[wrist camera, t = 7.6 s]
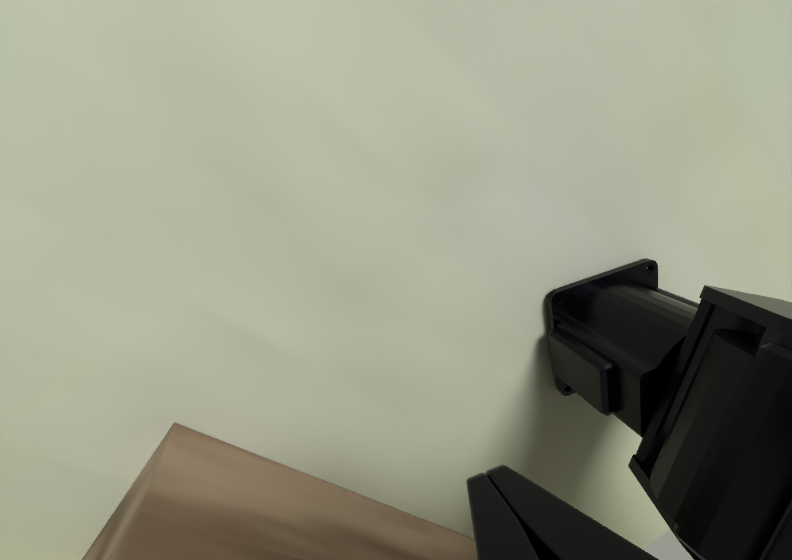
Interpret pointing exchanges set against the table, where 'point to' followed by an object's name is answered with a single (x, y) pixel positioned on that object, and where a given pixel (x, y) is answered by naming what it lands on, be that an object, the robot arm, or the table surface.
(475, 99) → the table surface
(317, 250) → the table surface
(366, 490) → the table surface
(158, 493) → the brown rectangular box
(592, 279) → the robot arm
